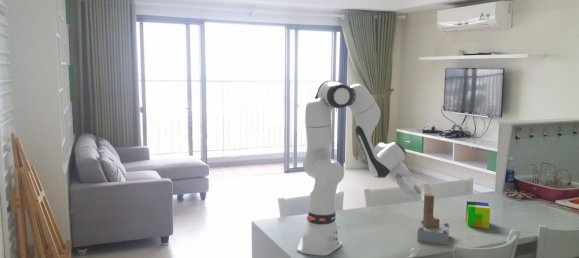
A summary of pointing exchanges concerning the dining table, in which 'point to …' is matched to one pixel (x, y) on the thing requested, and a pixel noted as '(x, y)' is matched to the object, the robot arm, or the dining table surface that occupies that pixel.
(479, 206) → the puzzle toy
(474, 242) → the dining table surface
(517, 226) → the dining table surface
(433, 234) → the base brick
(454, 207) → the dining table surface
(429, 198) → the wooden block
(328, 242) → the robot arm
